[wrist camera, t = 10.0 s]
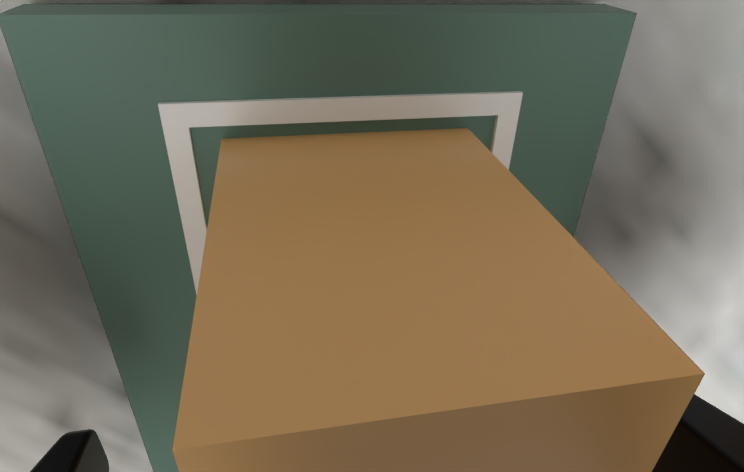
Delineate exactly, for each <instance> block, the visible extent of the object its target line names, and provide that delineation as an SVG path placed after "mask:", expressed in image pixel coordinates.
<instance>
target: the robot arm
mask: <svg viewBox="0 0 744 472" xmlns="http://www.w3.org/2000/svg"><path fill="white" fill-rule="evenodd" d="M30 472H109V464H108V460H107V457H106V454H105V452H104V450H103V447H102V445H101V442H100V440H99V437H98V435H97V433H96V432H95V431H94V430H90V429H88V430H81V431H73V432H68V433H66V434H64V435H63V436H62V437H61V438H60V439H59V440H58V441H57V442H56V443H55V444H54V445H53V446H52V448H51V449H50V450H49V451H48V452H47V453H46V454H45V455H44V457H43V458H42V459H41V460H40V461H39V462H38V463H37V464H36V466H35V467H34V468H33V469H32V470H31V471H30ZM652 472H744V424H743V423H741V422H739V421H738V420H736V419H735V418H733V417H731V416H730V415H728V414H726V413H725V412H723V411H721V410H720V409H718V408H716V407H715V406H713V405H711V404H710V403H708V402H706V401H705V400H703V399H701V398H700V397H698V396H696V395H695V394H694V395H693V397H692V398H691V400H690V402H689V404H688V406H687V408H686V409H685V411H684V413H683V415H682V417H681V419H680V421H679V422H678V424H677V426H676V428H675V430H674V432H673V433H672V435H671V437H670V439H669V441H668V443H667V444H666V446H665V448H664V450H663V452H662V454H661V456H660V457H659V459H658V461H657V463H656V465H655V467H654V468H653V470H652Z"/></svg>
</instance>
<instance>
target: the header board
mask: <svg viewBox="0 0 744 472" xmlns="http://www.w3.org/2000/svg"><path fill="white" fill-rule="evenodd" d="M636 14H637V13H634V12H631V11H627V10H623V9H620V8H616V7H612V6H609V5H605V4H23V5H20V6H18V7H15V8H13V9H10V10H8V11H5V12H3V13H0V26H1V29H2V32H3V35H4V38H5V41H6V44H7V46H8V49H9V52H10V55H11V58H12V61H13V64H14V67H15V70H16V73H17V76H18V78H19V81H20V84H21V87H22V90H23V93H24V96H25V99H26V102H27V105H28V108H29V111H30V113H31V116H32V119H33V122H34V125H35V128H36V131H37V134H38V137H39V140H40V143H41V145H42V148H43V151H44V154H45V157H46V160H47V163H48V166H49V169H50V172H51V175H52V177H53V180H54V183H55V186H56V189H57V192H58V195H59V198H60V201H61V204H62V207H63V210H64V212H65V215H66V218H67V221H68V224H69V227H70V230H71V233H72V236H73V239H74V242H75V244H76V247H77V250H78V253H79V256H80V259H81V262H82V265H83V268H84V271H85V274H86V277H87V279H88V282H89V285H90V288H91V291H92V294H93V297H94V300H95V303H96V306H97V309H98V311H99V314H100V317H101V320H102V323H103V326H104V329H105V332H106V335H107V338H108V341H109V343H110V346H111V349H112V352H113V355H114V358H115V361H116V364H117V367H118V370H119V373H120V376H121V378H122V381H123V384H124V387H125V390H126V393H127V396H128V399H129V402H130V405H131V408H132V410H133V413H134V416H135V419H136V422H137V425H138V428H139V431H140V434H141V437H142V440H143V443H144V445H145V448H146V451H147V454H148V457H149V460H150V463H151V466H152V469H153V472H179V470H178V467H177V464H176V460H175V457H174V454H173V450H172V449H173V443H174V437H175V430H176V424H177V418H178V411H179V405H180V399H181V392H182V386H183V379H184V373H185V367H186V360H187V354H188V348H189V341H190V335H191V329H192V322H193V316H194V310H195V303H196V297H197V290H198V284H199V278H200V271H201V265H202V259H203V252H204V246H205V240H206V233H207V227H208V221H209V214H210V208H211V201H212V195H213V189H214V182H215V176H216V170H217V163H218V157H219V151H220V144H221V139H225V138H248V137H271V136H294V135H317V134H340V133H363V132H387V131H410V130H433V129H456V128H468V129H469V130H470V131H471V132H472V133H473V134H474V135H475V136H476V137H477V138H478V139H479V140H480V141H481V142H482V143H483V144H484V145H485V146H486V147H487V148H488V149H489V150H490V151H491V153H492V154H493V155H494V156H495V157H496V158H497V159H498V160H499V161H500V162H501V163H502V164H503V165H504V166H505V167H506V168H507V169H508V170H509V171H510V172H511V173H512V174H513V175H514V176H515V177H516V178H517V179H518V181H519V182H520V183H521V184H522V185H523V186H524V187H525V188H526V189H527V190H528V191H529V192H530V193H531V194H532V195H533V196H534V197H535V198H536V199H537V200H538V201H539V202H540V203H541V204H542V205H543V206H544V207H545V209H546V210H547V211H548V212H549V213H550V214H551V215H552V216H553V217H554V218H555V219H556V220H557V221H558V222H559V223H560V224H561V225H562V226H563V227H564V228H565V229H566V230H567V231H568V232H569V233H570V234H571V235H572V236H573V235H574V232H575V228H576V225H577V221H578V218H579V214H580V211H581V207H582V204H583V200H584V197H585V193H586V190H587V186H588V183H589V179H590V176H591V172H592V169H593V165H594V161H595V158H596V154H597V151H598V147H599V144H600V140H601V137H602V133H603V130H604V126H605V123H606V119H607V116H608V112H609V109H610V105H611V102H612V98H613V95H614V91H615V87H616V84H617V80H618V77H619V73H620V70H621V66H622V63H623V59H624V56H625V52H626V49H627V45H628V42H629V38H630V35H631V31H632V28H633V24H634V21H635V17H636Z"/></svg>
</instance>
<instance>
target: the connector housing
mask: <svg viewBox="0 0 744 472" xmlns="http://www.w3.org/2000/svg"><path fill="white" fill-rule="evenodd" d="M704 374H705V373H704V372H703V371H702V370H701V369H700V368H699V367H698V366H697V365H696V364H695V363H694V362H693V361H692V360H691V359H690V358H689V357H688V356H687V355H686V354H685V353H684V352H683V350H682V349H681V348H680V347H679V346H678V345H677V344H676V343H675V342H674V341H673V340H672V339H671V338H670V337H669V336H668V335H667V334H666V333H665V332H664V331H663V330H662V329H661V328H660V327H659V326H658V325H657V324H656V323H655V321H654V320H653V319H652V318H651V317H650V316H649V315H648V314H647V313H646V312H645V311H644V310H643V309H642V308H641V307H640V306H639V305H638V304H637V303H636V302H635V301H634V300H633V299H632V298H631V297H630V296H629V295H628V293H627V292H626V291H625V290H624V289H623V288H622V287H621V286H620V285H619V284H618V283H617V282H616V281H615V280H614V279H613V278H612V277H611V276H610V275H609V274H608V273H607V272H606V271H605V270H604V269H603V268H602V267H601V266H600V264H599V263H598V262H597V261H596V260H595V259H594V258H593V257H592V256H591V255H590V254H589V253H588V252H587V251H586V250H585V249H584V248H583V247H582V246H581V245H580V244H579V243H578V242H577V241H576V240H575V239H574V238H573V236H572V235H571V234H570V233H569V232H568V231H567V230H566V229H565V228H564V227H563V226H562V225H561V224H560V223H559V222H558V221H557V220H556V219H555V218H554V217H553V216H552V215H551V214H550V213H549V212H548V211H547V210H546V209H545V207H544V206H543V205H542V204H541V203H540V202H539V201H538V200H537V199H536V198H535V197H534V196H533V195H532V194H531V193H530V192H529V191H528V190H527V189H526V188H525V187H524V186H523V185H522V184H521V183H520V182H519V181H518V179H517V178H516V177H515V176H514V175H513V174H512V173H511V172H510V171H509V170H508V169H507V168H506V167H505V166H504V165H503V164H502V163H501V162H500V161H499V160H498V159H497V158H496V157H495V156H494V155H493V154H492V153H491V151H490V150H489V149H488V148H487V147H486V146H485V145H484V144H483V143H482V142H481V141H480V140H479V139H478V138H477V137H476V136H475V135H474V134H473V133H472V132H471V131H470V130H469V129H468V128H456V129H433V130H410V131H387V132H363V133H340V134H317V135H294V136H271V137H248V138H225V139H221V144H220V151H219V157H218V163H217V170H216V176H215V182H214V189H213V195H212V201H211V208H210V214H209V221H208V227H207V233H206V240H205V246H204V252H203V259H202V265H201V271H200V278H199V284H198V290H197V297H196V303H195V310H194V316H193V322H192V329H191V335H190V341H189V348H188V354H187V360H186V367H185V373H184V379H183V386H182V392H181V399H180V405H179V411H178V418H177V424H176V430H175V437H174V443H173V449H172V450H173V454H174V457H175V460H176V464H177V467H178V470H179V472H652V470H653V468H654V467H655V465H656V463H657V461H658V459H659V457H660V456H661V454H662V452H663V450H664V448H665V446H666V444H667V443H668V441H669V439H670V437H671V435H672V433H673V432H674V430H675V428H676V426H677V424H678V422H679V421H680V419H681V417H682V415H683V413H684V411H685V409H686V408H687V406H688V404H689V402H690V400H691V398H692V397H693V395H694V393H695V391H696V389H697V387H698V386H699V384H700V382H701V380H702V378H703V376H704Z"/></svg>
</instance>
